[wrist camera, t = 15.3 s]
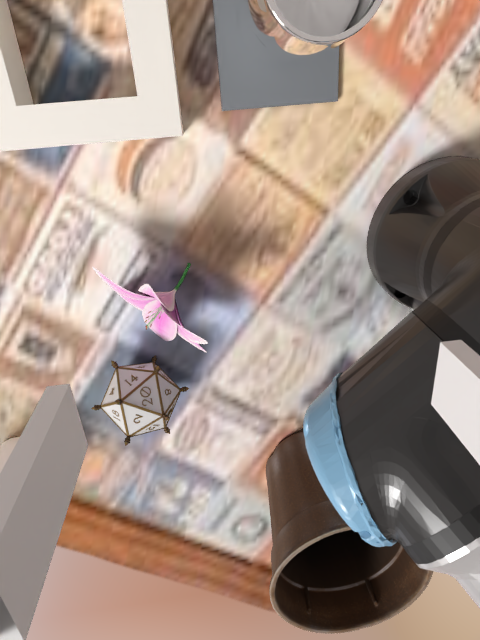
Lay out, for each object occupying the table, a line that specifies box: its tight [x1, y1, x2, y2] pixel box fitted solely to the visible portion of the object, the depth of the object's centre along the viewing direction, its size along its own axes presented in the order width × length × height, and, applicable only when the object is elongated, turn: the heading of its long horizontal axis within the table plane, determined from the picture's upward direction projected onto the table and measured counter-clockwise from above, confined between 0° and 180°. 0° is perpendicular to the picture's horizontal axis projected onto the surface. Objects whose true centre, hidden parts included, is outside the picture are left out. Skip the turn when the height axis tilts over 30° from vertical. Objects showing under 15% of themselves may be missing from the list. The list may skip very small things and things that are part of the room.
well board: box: [0, 0, 184, 151], centre depth 32 cm, size 15×15×4 cm
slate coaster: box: [213, 0, 339, 111], centre depth 35 cm, size 10×12×1 cm
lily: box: [92, 263, 208, 352], centre depth 41 cm, size 12×12×10 cm
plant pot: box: [266, 431, 433, 633], centre depth 49 cm, size 16×16×16 cm
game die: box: [92, 356, 189, 446], centre depth 45 cm, size 9×8×10 cm
